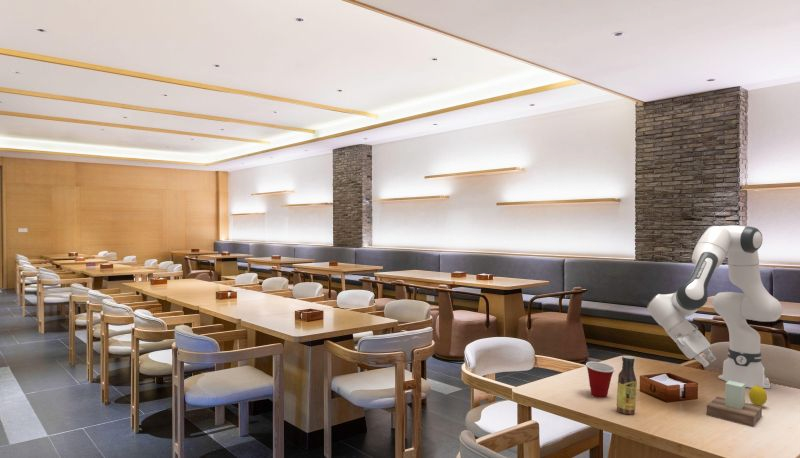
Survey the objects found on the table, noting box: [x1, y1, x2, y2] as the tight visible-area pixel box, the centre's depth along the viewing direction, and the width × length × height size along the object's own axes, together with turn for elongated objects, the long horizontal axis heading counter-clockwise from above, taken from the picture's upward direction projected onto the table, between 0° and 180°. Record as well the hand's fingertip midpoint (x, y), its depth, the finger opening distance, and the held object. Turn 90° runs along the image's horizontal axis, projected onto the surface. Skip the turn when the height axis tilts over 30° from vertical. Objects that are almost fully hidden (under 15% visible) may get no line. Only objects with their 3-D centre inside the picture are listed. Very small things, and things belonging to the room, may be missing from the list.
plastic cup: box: [585, 361, 616, 399], centre depth 199 cm, size 11×11×12 cm
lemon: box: [748, 385, 768, 406], centre depth 190 cm, size 6×6×8 cm
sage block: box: [724, 381, 746, 409], centre depth 181 cm, size 5×5×8 cm
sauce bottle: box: [616, 355, 638, 415], centre depth 182 cm, size 6×6×20 cm
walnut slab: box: [705, 396, 763, 428], centre depth 180 cm, size 14×14×4 cm
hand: (710, 363), depth 186 cm, fingers open, 8 cm apart
